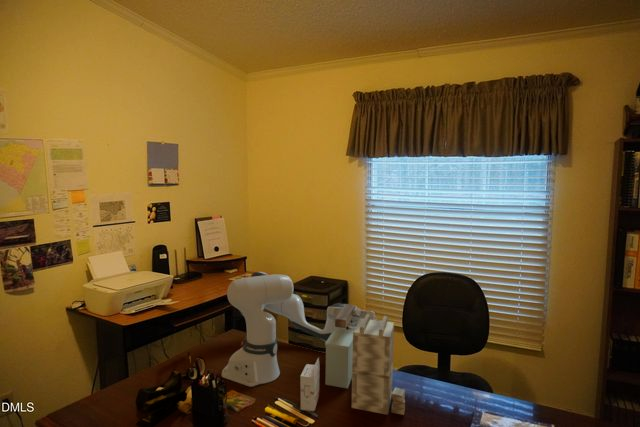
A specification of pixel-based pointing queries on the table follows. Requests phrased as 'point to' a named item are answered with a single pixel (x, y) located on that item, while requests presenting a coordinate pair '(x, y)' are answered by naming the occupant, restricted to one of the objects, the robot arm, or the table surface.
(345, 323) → the walnut strip
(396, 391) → the offcut stack
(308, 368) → the ink cartridge box
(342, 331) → the pale grey upright box
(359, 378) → the birch rack
